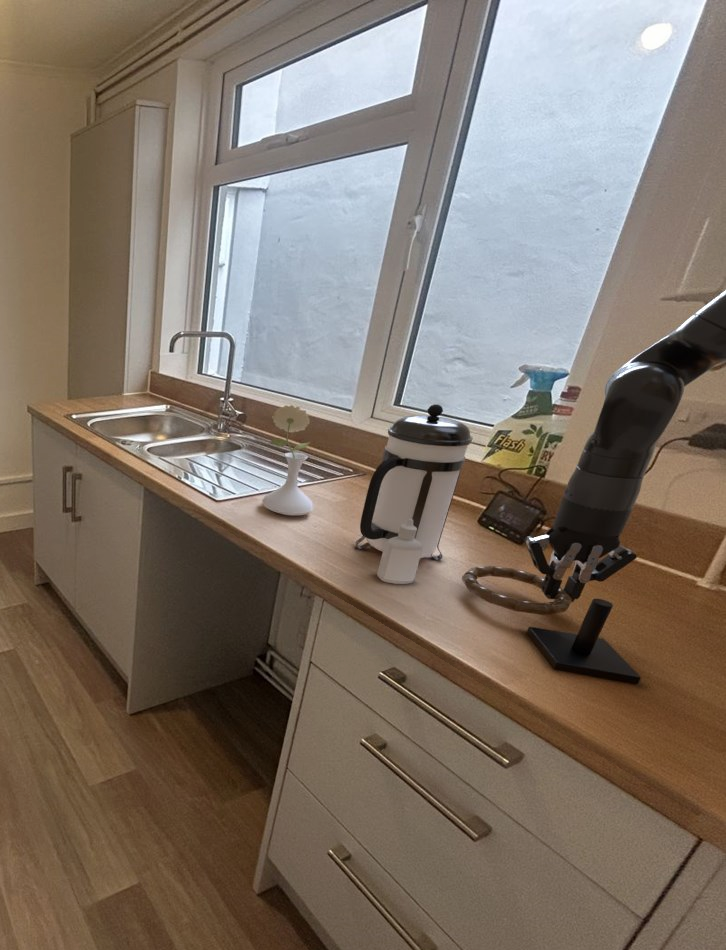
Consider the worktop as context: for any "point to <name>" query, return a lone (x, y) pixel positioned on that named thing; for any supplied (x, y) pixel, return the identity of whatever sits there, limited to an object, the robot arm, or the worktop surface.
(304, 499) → the flower in vase
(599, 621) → the stand
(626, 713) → the worktop surface
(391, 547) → the eye dropper bottle
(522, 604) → the ring
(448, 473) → the coffee press
